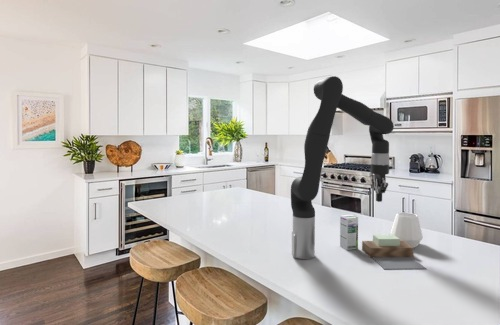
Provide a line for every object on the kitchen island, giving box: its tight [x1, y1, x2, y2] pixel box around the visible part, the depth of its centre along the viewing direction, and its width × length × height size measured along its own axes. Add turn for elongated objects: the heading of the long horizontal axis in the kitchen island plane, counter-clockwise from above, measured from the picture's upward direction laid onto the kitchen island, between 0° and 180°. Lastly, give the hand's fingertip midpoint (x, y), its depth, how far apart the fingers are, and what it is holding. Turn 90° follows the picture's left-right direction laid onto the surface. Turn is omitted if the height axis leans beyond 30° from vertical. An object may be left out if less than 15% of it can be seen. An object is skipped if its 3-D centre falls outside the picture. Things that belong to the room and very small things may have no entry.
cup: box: [390, 211, 423, 248], centre depth 146 cm, size 13×13×14 cm
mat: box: [372, 257, 427, 270], centre depth 125 cm, size 16×11×1 cm
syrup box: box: [339, 214, 359, 251], centre depth 142 cm, size 6×6×14 cm
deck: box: [361, 240, 415, 259], centre depth 135 cm, size 18×9×4 cm, turn 90°
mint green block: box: [372, 233, 400, 246], centre depth 136 cm, size 9×6×3 cm, turn 90°
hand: (378, 201), depth 143 cm, fingers closed
